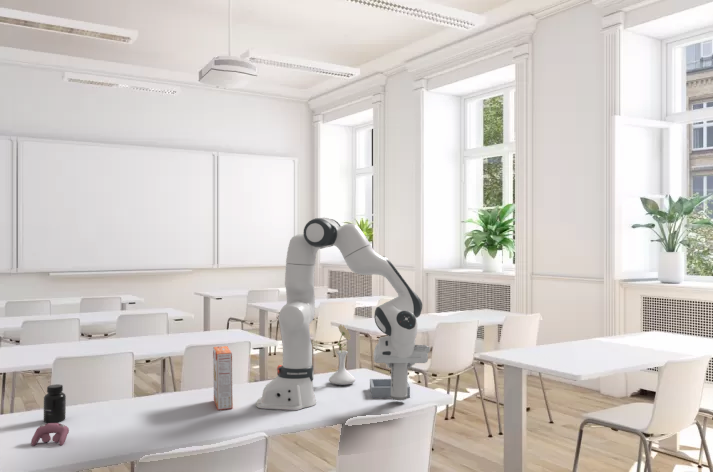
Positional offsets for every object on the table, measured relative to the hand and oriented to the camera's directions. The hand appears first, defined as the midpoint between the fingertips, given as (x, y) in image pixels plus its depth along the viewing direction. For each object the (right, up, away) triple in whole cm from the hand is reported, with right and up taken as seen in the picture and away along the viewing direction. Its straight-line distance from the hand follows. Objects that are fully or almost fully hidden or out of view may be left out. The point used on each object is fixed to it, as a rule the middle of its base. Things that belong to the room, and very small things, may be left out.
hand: (399, 366), depth 236 cm
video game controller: (-110, -14, -46) cm, 120 cm away
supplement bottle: (-120, -14, -23) cm, 123 cm away
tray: (-3, -14, +14) cm, 20 cm away
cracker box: (-67, -14, -3) cm, 68 cm away
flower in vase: (-23, -14, +30) cm, 40 cm away
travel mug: (0, -12, 0) cm, 12 cm away
